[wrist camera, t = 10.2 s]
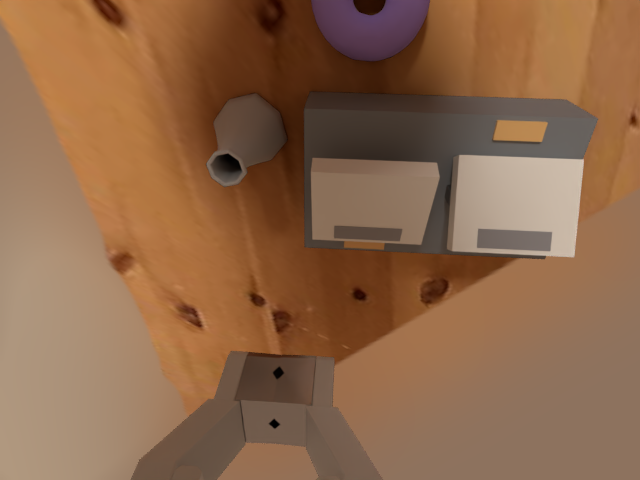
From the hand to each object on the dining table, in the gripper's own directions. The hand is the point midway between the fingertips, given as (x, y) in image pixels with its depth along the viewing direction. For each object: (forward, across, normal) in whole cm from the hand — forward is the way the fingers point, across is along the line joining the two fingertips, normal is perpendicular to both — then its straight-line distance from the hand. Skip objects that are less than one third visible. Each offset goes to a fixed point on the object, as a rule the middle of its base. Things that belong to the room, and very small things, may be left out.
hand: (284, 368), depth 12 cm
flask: (+33, +8, +4) cm, 35 cm away
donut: (+34, -3, -8) cm, 35 cm away
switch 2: (+25, -16, +7) cm, 30 cm away
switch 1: (+25, -4, +7) cm, 26 cm away
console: (+33, -10, +7) cm, 35 cm away
